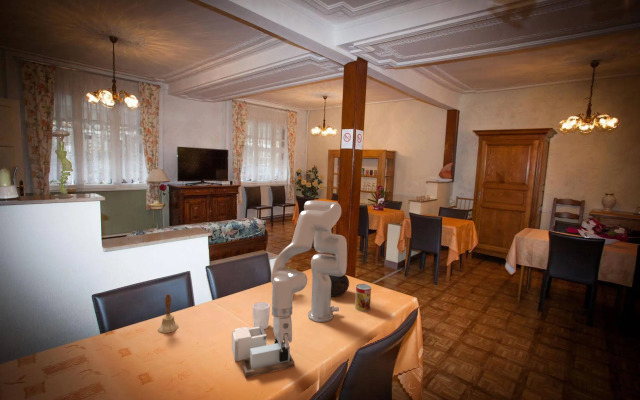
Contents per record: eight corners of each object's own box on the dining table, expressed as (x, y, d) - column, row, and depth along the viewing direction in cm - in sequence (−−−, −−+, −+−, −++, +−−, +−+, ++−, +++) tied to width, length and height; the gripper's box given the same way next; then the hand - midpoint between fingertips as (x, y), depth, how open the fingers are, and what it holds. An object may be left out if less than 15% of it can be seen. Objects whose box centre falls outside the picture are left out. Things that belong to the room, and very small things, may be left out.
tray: (287, 354, 123) (287, 349, 123) (294, 366, 116) (294, 361, 116) (241, 364, 116) (241, 359, 116) (245, 377, 109) (245, 372, 108)
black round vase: (320, 286, 195) (322, 242, 192) (349, 288, 193) (351, 244, 190) (316, 297, 178) (318, 249, 175) (347, 300, 175) (350, 252, 172)
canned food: (368, 312, 162) (369, 290, 160) (353, 309, 164) (354, 287, 163) (371, 306, 169) (372, 285, 168) (356, 303, 172) (357, 282, 170)
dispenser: (261, 344, 129) (262, 324, 128) (266, 355, 122) (266, 333, 121) (231, 350, 125) (232, 329, 124) (234, 361, 117) (235, 339, 116)
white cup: (265, 331, 139) (266, 310, 138) (249, 329, 141) (249, 308, 140) (272, 323, 147) (272, 303, 146) (256, 321, 148) (256, 301, 147)
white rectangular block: (286, 356, 121) (286, 341, 120) (289, 362, 117) (289, 346, 116) (249, 363, 115) (250, 348, 114) (252, 370, 111) (252, 354, 111)
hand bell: (182, 326, 141) (182, 292, 140) (166, 335, 134) (166, 299, 132) (169, 322, 145) (169, 288, 143) (153, 330, 137) (152, 295, 135)
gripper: (299, 318, 109) (298, 366, 111) (285, 299, 125) (283, 341, 127) (278, 322, 106) (277, 371, 108) (266, 301, 122) (265, 345, 124)
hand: (281, 354), depth 117 cm, fingers open, 6 cm apart
